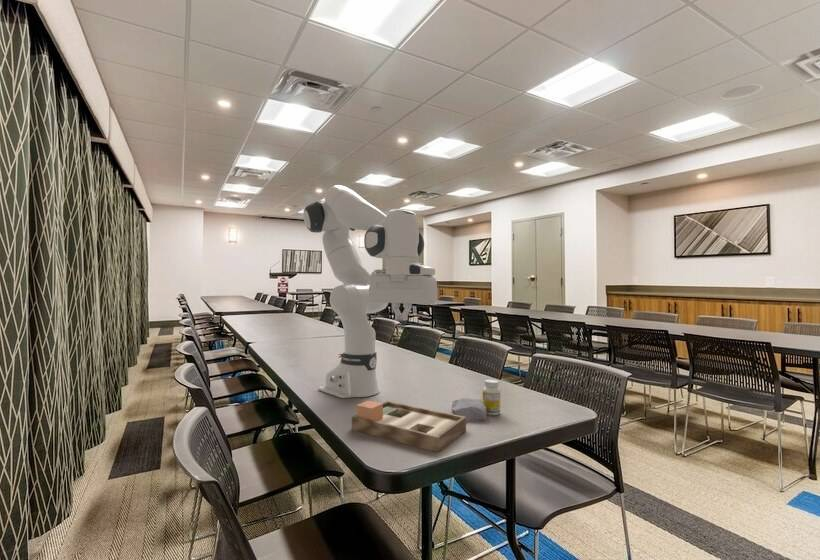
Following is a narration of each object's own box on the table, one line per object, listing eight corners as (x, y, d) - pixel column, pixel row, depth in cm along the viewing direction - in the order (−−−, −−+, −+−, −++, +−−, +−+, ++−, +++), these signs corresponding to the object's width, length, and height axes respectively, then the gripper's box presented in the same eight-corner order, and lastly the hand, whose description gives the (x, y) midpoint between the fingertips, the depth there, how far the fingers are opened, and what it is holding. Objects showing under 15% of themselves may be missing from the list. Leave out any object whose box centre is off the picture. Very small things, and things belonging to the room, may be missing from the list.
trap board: (351, 429, 101) (352, 416, 102) (387, 412, 116) (387, 401, 116) (437, 452, 88) (437, 437, 88) (466, 429, 102) (466, 417, 102)
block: (356, 420, 102) (356, 405, 102) (368, 414, 106) (368, 400, 106) (371, 423, 99) (371, 408, 99) (382, 418, 103) (382, 403, 103)
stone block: (455, 427, 109) (489, 420, 110) (452, 410, 110) (486, 404, 110) (451, 415, 121) (482, 409, 121) (448, 399, 122) (479, 394, 122)
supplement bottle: (496, 416, 113) (496, 384, 113) (479, 413, 116) (480, 381, 116) (502, 411, 118) (503, 380, 118) (486, 408, 121) (486, 378, 121)
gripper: (364, 268, 106) (363, 318, 105) (429, 267, 95) (428, 323, 95) (377, 269, 111) (377, 317, 111) (440, 269, 100) (440, 321, 100)
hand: (401, 320), depth 103 cm, fingers closed
